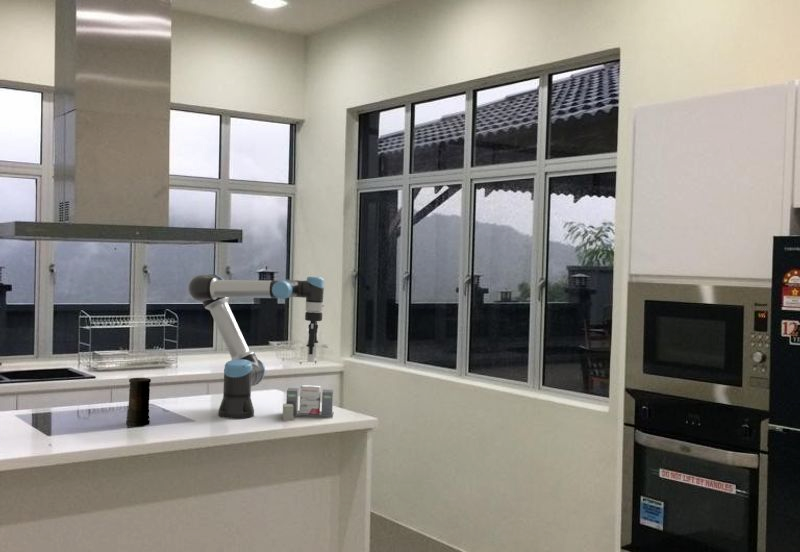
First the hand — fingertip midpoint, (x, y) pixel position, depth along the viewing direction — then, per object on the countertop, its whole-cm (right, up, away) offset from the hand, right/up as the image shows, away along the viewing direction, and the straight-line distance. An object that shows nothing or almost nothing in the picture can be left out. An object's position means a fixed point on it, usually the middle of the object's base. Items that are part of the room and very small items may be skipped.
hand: (311, 359), depth 350 cm
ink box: (-1, -24, +1) cm, 24 cm away
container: (-66, -22, -33) cm, 77 cm away
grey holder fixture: (-1, -25, +1) cm, 25 cm away
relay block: (-9, -24, -10) cm, 28 cm away
